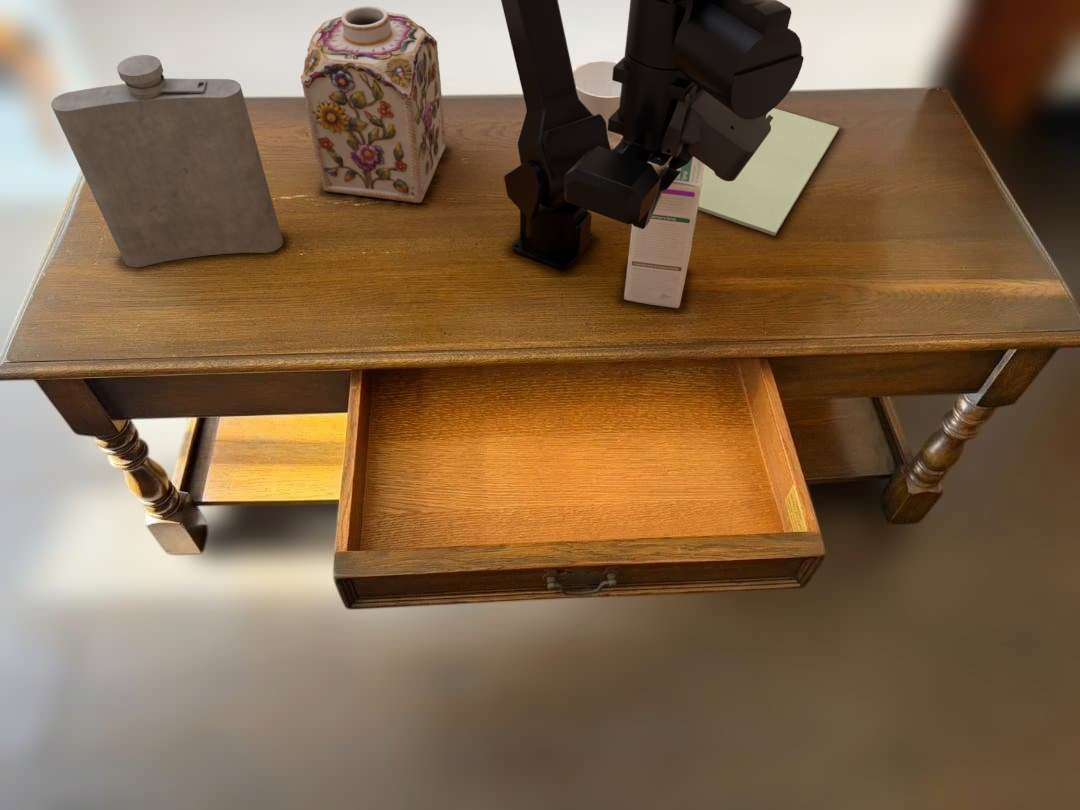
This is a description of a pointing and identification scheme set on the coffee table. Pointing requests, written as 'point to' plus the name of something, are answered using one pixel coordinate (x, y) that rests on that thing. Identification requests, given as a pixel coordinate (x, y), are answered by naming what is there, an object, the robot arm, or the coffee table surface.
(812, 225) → the coffee table surface
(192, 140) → the hip flask
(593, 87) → the white cup
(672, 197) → the syrup box
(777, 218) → the paper notepad
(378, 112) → the decorative jar
